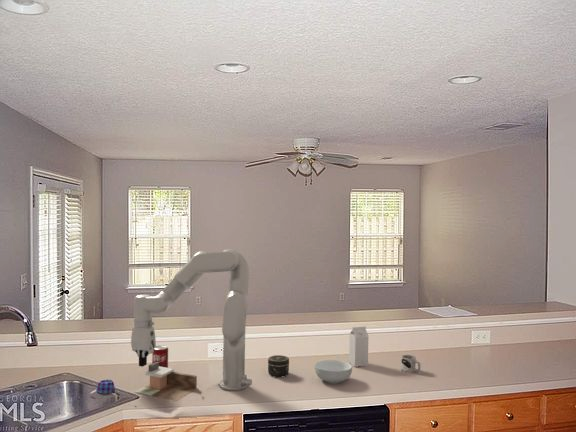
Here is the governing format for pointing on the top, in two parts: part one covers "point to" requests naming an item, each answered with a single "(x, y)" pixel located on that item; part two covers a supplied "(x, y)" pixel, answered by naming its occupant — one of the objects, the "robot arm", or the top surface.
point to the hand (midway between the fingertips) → (142, 365)
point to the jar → (278, 365)
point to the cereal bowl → (333, 370)
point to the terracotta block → (158, 382)
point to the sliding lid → (158, 370)
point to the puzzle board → (173, 387)
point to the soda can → (160, 356)
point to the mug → (409, 363)
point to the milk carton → (358, 347)
